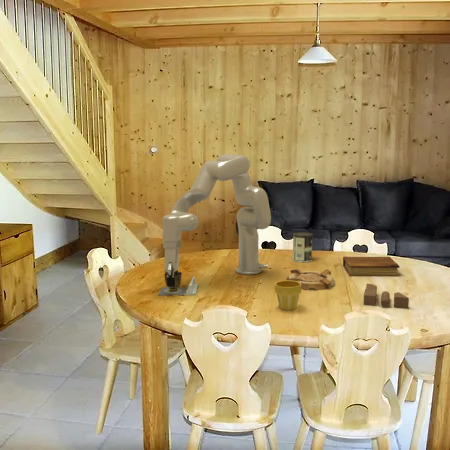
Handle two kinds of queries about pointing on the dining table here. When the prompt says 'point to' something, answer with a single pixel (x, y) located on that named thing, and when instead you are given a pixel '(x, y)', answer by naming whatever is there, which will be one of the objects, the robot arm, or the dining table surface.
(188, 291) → the low wall
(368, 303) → the wooden block set
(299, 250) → the coffee can
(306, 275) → the ashtray
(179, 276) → the ornate metal lamp shade
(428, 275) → the dining table surface
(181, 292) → the rest pad
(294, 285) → the plant pot
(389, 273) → the diary
